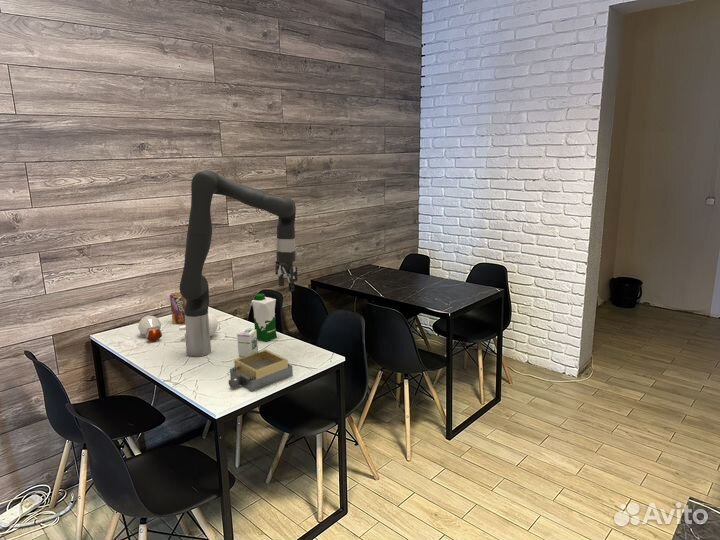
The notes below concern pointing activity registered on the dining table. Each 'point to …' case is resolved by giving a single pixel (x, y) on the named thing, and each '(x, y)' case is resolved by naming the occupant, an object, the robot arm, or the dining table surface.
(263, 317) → the milk carton
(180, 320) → the candy box
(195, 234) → the robot arm
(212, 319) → the piggy bank
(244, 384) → the wooden drawer tray
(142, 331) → the potion bottle
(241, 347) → the syrup box
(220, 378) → the dining table surface
